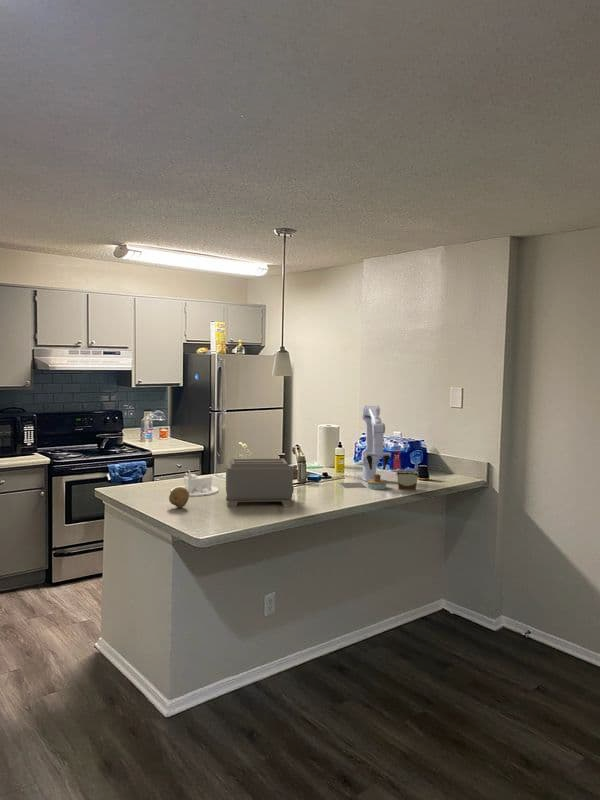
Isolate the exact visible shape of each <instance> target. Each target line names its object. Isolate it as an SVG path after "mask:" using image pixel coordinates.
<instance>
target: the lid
mask: <svg viewBox="0 0 600 800" xmlns="http://www.w3.org/2000/svg"><path fill="white" fill-rule="evenodd" d="M381 476H382V475H381V474H380V473H378V474H377V473H376V474H374V479H369V480H367V481H366V483H367V484H368V483H370V484H386V485H387V484H388V481H387V480H385V479H381Z"/></svg>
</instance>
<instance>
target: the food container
mask: <svg viewBox="0 0 600 800" xmlns="http://www.w3.org/2000/svg"><path fill="white" fill-rule="evenodd" d="M396 476H397V486H398V491H399V490H400V491H401V490H402V491H416V490H417V483H418V477H420V475H419V471H416V470H411V469H410V470H409V469H399V470H397V471H396Z"/></svg>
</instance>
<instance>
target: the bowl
mask: <svg viewBox="0 0 600 800" xmlns="http://www.w3.org/2000/svg"><path fill="white" fill-rule="evenodd" d="M367 488H368V489H370V488H371V489H370V490H376V489H381V490H385V489H387V483H386V484H370V483H367Z"/></svg>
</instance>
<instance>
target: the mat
mask: <svg viewBox="0 0 600 800" xmlns="http://www.w3.org/2000/svg"><path fill="white" fill-rule="evenodd" d="M339 484H340V485H341V484H342V485H343V486H344V487H343V486H342V485H341V486H342V487H343V488H345V487H365V488H367V487H366V486H365V485H364V484H363V483H361V482H339Z"/></svg>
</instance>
